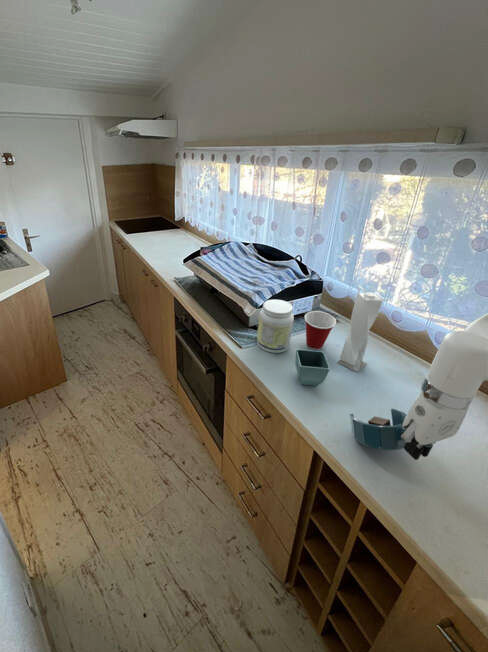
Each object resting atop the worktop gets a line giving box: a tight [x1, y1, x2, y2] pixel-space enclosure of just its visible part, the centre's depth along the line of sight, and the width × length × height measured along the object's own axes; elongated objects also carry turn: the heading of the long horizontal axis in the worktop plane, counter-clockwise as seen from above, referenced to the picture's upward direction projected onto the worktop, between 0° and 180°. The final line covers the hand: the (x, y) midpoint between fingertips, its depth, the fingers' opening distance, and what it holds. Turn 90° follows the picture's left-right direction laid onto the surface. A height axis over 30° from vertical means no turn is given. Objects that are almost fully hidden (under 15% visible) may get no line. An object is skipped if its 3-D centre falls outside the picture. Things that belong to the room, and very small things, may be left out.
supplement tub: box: [256, 299, 295, 354], centre depth 113 cm, size 12×12×17 cm
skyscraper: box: [336, 285, 384, 373], centre depth 101 cm, size 8×8×28 cm
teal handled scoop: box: [349, 408, 432, 451], centre depth 73 cm, size 19×12×6 cm, turn 15°
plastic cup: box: [304, 310, 337, 350], centre depth 113 cm, size 11×11×12 cm
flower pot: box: [294, 348, 331, 387], centre depth 97 cm, size 9×9×9 cm
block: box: [367, 416, 392, 426], centre depth 77 cm, size 4×4×4 cm
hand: (415, 452), depth 68 cm, fingers closed on teal handled scoop
